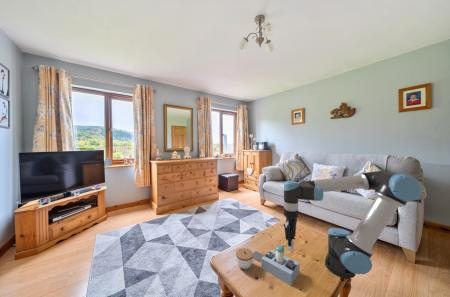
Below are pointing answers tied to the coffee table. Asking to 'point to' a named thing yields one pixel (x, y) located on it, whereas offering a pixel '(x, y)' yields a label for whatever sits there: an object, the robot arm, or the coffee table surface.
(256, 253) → the mat
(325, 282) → the coffee table surface
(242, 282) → the coffee table surface
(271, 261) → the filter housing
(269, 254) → the plunger far
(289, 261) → the plunger near
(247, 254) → the lidded jar
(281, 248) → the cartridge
